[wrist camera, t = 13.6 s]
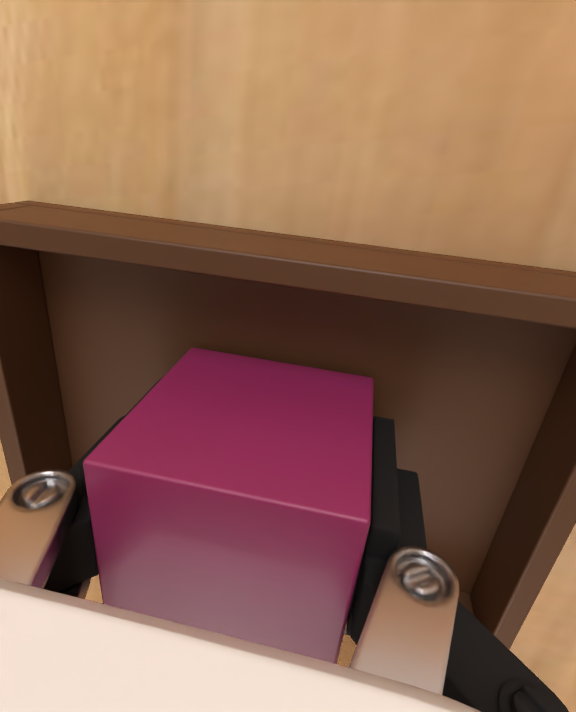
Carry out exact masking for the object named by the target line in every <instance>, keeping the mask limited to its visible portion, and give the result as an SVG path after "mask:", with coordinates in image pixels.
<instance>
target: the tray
mask: <svg viewBox="0 0 576 712" xmlns="http://www.w3.org/2000/svg"><path fill="white" fill-rule="evenodd" d="M191 348H199V349H205V350H211V351H217V352H223V353H229V354H235V355H241V356H247V357H253V358H259V359H265V360H270V361H276V362H282V363H288V364H294V365H300V366H306V367H312V368H318V369H324V370H330V371H336V372H341V373H347V374H353V375H359V376H365V377H371V378H373V380H374V389H373V417H374V416H378V417H383V418H389V419H394V425H395V442H396V460H397V468H398V469H403V470H408V471H413V472H417V474H418V478H419V486H420V494H421V503H422V511H423V519H424V527H425V536H426V544H427V549H429V550H431V551H433V552H434V553H436V554H438V555H440V556H441V557H442V558H443V559H444V560H445V561H446V562H448V563H449V565H450V566H451V567H452V569H453V570H454V572H455V573H456V576H457V579H458V581H459V597H458V601H459V602H460V603H461V604H462V605H463V606H464V607H465V608H466V609H467V610H469V611H470V612H471V613H472V614H473V615H474V616H475V617H476V618H477V619H478V620H479V621H480V622H481V623H482V624H483V625H484V626H485V627H486V628H487V629H488V630H489V631H490V632H491V633H492V634H493V635H494V636H495V637H496V638H497V639H498V640H500V641H501V642H502V643H503V644H504V645H505V646H506V647H507V648H508V649H510V647H511V645H512V643H513V641H514V639H515V637H516V636H517V634H518V632H519V630H520V628H521V626H522V624H523V622H524V620H525V618H526V617H527V615H528V613H529V611H530V609H531V607H532V605H533V603H534V601H535V599H536V597H537V596H538V594H539V592H540V590H541V588H542V586H543V584H544V582H545V580H546V578H547V577H548V575H549V573H550V571H551V569H552V567H553V565H554V563H555V561H556V559H557V557H558V556H559V554H560V552H561V550H562V548H563V546H564V544H565V542H566V540H567V538H568V537H569V535H570V533H571V531H572V529H573V527H574V525H575V523H576V272H571V271H563V270H556V269H548V268H540V267H533V266H525V265H517V264H510V263H502V262H494V261H487V260H479V259H471V258H464V257H456V256H448V255H441V254H433V253H425V252H418V251H410V250H402V249H395V248H387V247H379V246H371V245H364V244H356V243H348V242H341V241H333V240H325V239H318V238H310V237H302V236H295V235H287V234H279V233H272V232H264V231H256V230H249V229H241V228H233V227H226V226H218V225H210V224H203V223H195V222H187V221H179V220H172V219H164V218H156V217H149V216H141V215H133V214H126V213H118V212H110V211H103V210H95V209H87V208H80V207H72V206H64V205H57V204H49V203H41V202H34V201H22V202H16V203H7V204H0V439H1V443H2V447H3V451H4V455H5V459H6V463H7V468H8V472H9V476H10V480H11V484H12V485H13V484H14V483H15V482H16V481H18V480H19V479H21V478H22V477H24V476H26V475H28V474H31V473H33V472H37V471H40V470H46V469H60V470H64V471H67V472H68V471H69V470H70V469H71V468H72V467H73V466H74V465H75V464H76V463H77V461H78V460H79V459H80V458H81V457H82V456H83V455H84V454H85V453H86V452H87V451H88V450H89V449H90V448H91V447H92V446H93V445H94V444H95V443H96V442H97V441H98V440H99V439H100V438H101V437H102V436H103V435H104V434H105V433H106V432H107V431H108V430H109V429H110V428H111V427H112V425H113V424H114V423H115V422H116V421H117V420H118V419H120V418H121V417H122V416H125V415H126V414H127V413H128V412H129V411H130V410H131V409H132V408H133V407H134V406H135V405H136V404H137V402H138V401H139V400H140V399H141V398H142V397H143V396H144V395H145V394H146V393H147V392H148V391H149V390H150V389H151V388H152V387H153V386H154V385H155V384H156V383H157V382H158V381H159V380H160V379H161V378H163V377H164V376H165V375H166V374H167V373H168V372H169V371H170V370H171V368H172V367H173V366H174V365H175V364H176V363H177V362H178V361H179V360H180V359H181V358H182V357H183V356H184V355H185V354H186V353H187V352H188V351H189V350H190V349H191ZM346 630H347V622H346V626H345V631H344V634H346ZM346 635H347V634H346ZM350 636H351V635H350Z"/></svg>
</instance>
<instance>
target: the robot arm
mask: <svg viewBox="0 0 576 712" xmlns="http://www.w3.org/2000/svg"><path fill="white" fill-rule="evenodd" d="M161 379H162V378H161ZM161 379H160V380H161ZM160 380H159V381H160ZM159 381H158V382H159ZM158 382H157V383H158ZM157 383H156V384H157ZM156 384H155V385H156ZM155 385H154V386H155ZM154 386H153V387H154ZM153 387H152V388H153ZM152 388H151V389H152ZM151 389H150V390H151ZM150 390H149V391H150ZM149 391H148V392H147V393H146V394H145V395H144V396H143V397H142V398H141V399H140V400H139V401H138V402H137V404H138V403H139V402H140V401H141V400H142V399H143V398H144V397H145V396H146V395H147V394H148V393H149ZM137 404H136V405H137ZM136 405H135V406H136ZM135 406H134V407H135ZM134 407H133V408H134ZM133 408H132V409H133ZM132 409H131V410H132ZM131 410H130V411H131ZM130 411H129V412H130ZM129 412H128V413H129ZM128 413H127V414H128ZM127 414H126V415H125V416H122V417H121V418H120V419H118V420H117V421H116V422H115V423H114V424H113V425H112V427H111V428H110V429H109V430H108V431H107V432H106V433H105V434H104V435H103V436H102V437H101V438H100V439H99V440H98V441H97V442H96V443H95V444H94V445H93V446H92V447H91V448H90V449H89V450H88V451H87V452H86V453H85V454H84V455H83V456H82V457H81V458H80V459H79V460H78V461H77V463H76V464H75V465H74V466H73V467H72V468H71V469H70V470H69V471H68V472H67V471H64V470H60V469H46V470H40V471H37V472H33V473H31V474H28V475H26V476H24V477H22V478H21V479H19V480H18V481H16V482H15V483H14V484H13V485H12V486H11V487H10V488H9V489H8V490H7V492H6V493H5V495H4V496H3V498H2V499H1V501H0V712H569V711H568V710H567V708H566V706H565V705H564V704H563V703H562V702H561V701H560V700H559V698H558V697H557V696H556V695H555V694H554V693H553V692H552V691H551V690H550V689H549V688H548V687H547V686H546V685H545V684H544V683H543V682H542V681H541V680H540V679H539V678H538V677H537V676H536V675H535V674H534V673H533V672H532V671H531V670H530V669H528V668H527V667H526V666H525V665H524V664H523V663H522V662H521V661H520V660H519V659H518V658H517V657H516V656H515V655H514V654H513V653H512V652H511V651H510V650H509V649H508V648H507V647H506V646H505V645H504V644H503V643H502V642H501V641H500V640H498V639H497V638H496V637H495V636H494V635H493V634H492V633H491V632H490V631H489V630H488V629H487V628H486V627H485V626H484V625H483V624H482V623H481V622H480V621H479V620H478V619H477V618H476V617H475V616H474V615H473V614H472V613H471V612H470V611H469V610H467V609H466V608H465V607H464V606H463V605H462V604H461V603H460V602H459V601H458V597H459V581H458V579H457V576H456V573H455V572H454V570H453V569H452V567H451V566H450V565H449V563H448V562H446V561H445V560H444V559H443V558H442V557H441V556H440V555H438V554H436V553H434V552H433V551H431V550H429V549H427V544H426V536H425V527H424V519H423V511H422V503H421V494H420V486H419V478H418V474H417V472H413V471H408V470H403V469H398V468H397V460H396V442H395V425H394V419H389V418H383V417H378V416H374V417H373V435H372V480H371V523H370V527H369V531H368V535H367V539H366V543H365V548H364V552H363V556H362V560H361V564H360V568H359V572H358V577H357V581H356V585H355V589H354V593H353V597H352V602H351V606H350V610H349V614H348V618H347V630H346V634H347V635H351V638H352V639H353V641H354V642H355V643H356V645H357V647H356V650H355V652H354V655H353V658H352V661H351V663H350V666H349V667H345V666H342V665H338V664H335V663H331V662H327V661H323V660H319V659H316V658H312V657H308V656H304V655H300V654H296V653H293V652H289V651H285V650H281V649H277V648H273V647H269V646H266V645H262V644H258V643H254V642H250V641H246V640H243V639H239V638H235V637H231V636H227V635H223V634H220V633H216V632H212V631H208V630H204V629H200V628H196V627H192V626H188V625H184V624H180V623H177V622H173V621H169V620H165V619H161V618H157V617H153V616H149V615H145V614H141V613H137V612H133V611H129V610H125V609H121V608H117V607H114V606H110V605H106V604H102V603H98V602H94V601H90V600H86V599H85V597H86V594H87V591H88V588H89V585H90V579H91V577H94V576H96V575H98V574H99V572H98V565H97V558H96V551H95V544H94V537H93V530H92V523H91V516H90V510H89V503H88V496H87V489H86V482H85V475H84V468H83V462H84V459H85V458H86V457H87V456H88V455H89V454H90V453H91V452H92V451H93V450H94V449H95V448H96V447H97V446H98V445H99V444H100V443H101V442H102V441H103V440H104V439H105V437H106V436H107V435H108V434H109V433H110V432H111V431H112V430H113V429H114V428H115V427H116V426H117V425H118V424H119V423H120V422H121V421H122V420H123V419H124V418H125V417H126V416H127Z"/></svg>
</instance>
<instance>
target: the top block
mask: <svg viewBox="0 0 576 712" xmlns="http://www.w3.org/2000/svg"><path fill="white" fill-rule="evenodd" d="M373 389H374V380H373V378H371V377H365V376H359V375H353V374H347V373H341V372H336V371H330V370H324V369H318V368H312V367H306V366H300V365H294V364H288V363H282V362H276V361H270V360H265V359H259V358H253V357H247V356H241V355H235V354H229V353H223V352H217V351H211V350H205V349H199V348H191V349H190V350H189V351H188V352H187V353H186V354H185V355H184V356H183V357H182V358H181V359H180V360H179V361H178V362H177V363H176V364H175V365H174V366H173V367H172V368H171V370H170V371H169V372H168V373H167V374H166V375H165V376H164V377H163V378H162V379H161V380H160V381H159V382H158V383H157V384H156V385H155V386H154V387H153V388H152V389H151V390H150V391H149V393H148V394H147V395H146V396H145V397H144V398H143V399H142V400H141V401H140V402H139V403H138V404H137V405H136V406H135V407H134V408H133V409H132V410H131V411H130V412H129V413H128V414H127V416H126V417H125V418H124V419H123V420H122V421H121V422H120V423H119V424H118V425H117V426H116V427H115V428H114V429H113V430H112V431H111V432H110V433H109V434H108V435H107V436H106V437H105V439H104V440H103V441H102V442H101V443H100V444H99V445H98V446H97V447H96V448H95V449H94V450H93V451H92V452H91V453H90V454H89V455H88V456H87V457H86V458H85V459H84V462H83V468H84V475H85V482H86V489H87V496H88V503H89V510H90V516H91V523H92V530H93V537H94V544H95V551H96V558H97V565H98V572H99V579H100V585H101V592H102V599H103V604H106V605H110V606H114V607H117V608H121V609H125V610H129V611H133V612H137V613H141V614H145V615H149V616H153V617H157V618H161V619H165V620H169V621H173V622H177V623H180V624H184V625H188V626H192V627H196V628H200V629H204V630H208V631H212V632H216V633H220V634H223V635H227V636H231V637H235V638H239V639H243V640H246V641H250V642H254V643H258V644H262V645H266V646H269V647H273V648H277V649H281V650H285V651H289V652H293V653H296V654H300V655H304V656H308V657H312V658H316V659H319V660H323V661H327V662H331V663H335V664H337V660H338V655H339V651H340V647H341V643H342V639H343V635H344V631H345V626H346V622H347V618H348V614H349V610H350V606H351V602H352V597H353V593H354V589H355V585H356V581H357V577H358V572H359V568H360V564H361V560H362V556H363V552H364V548H365V543H366V539H367V535H368V531H369V527H370V523H371V480H372V435H373Z"/></svg>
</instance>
